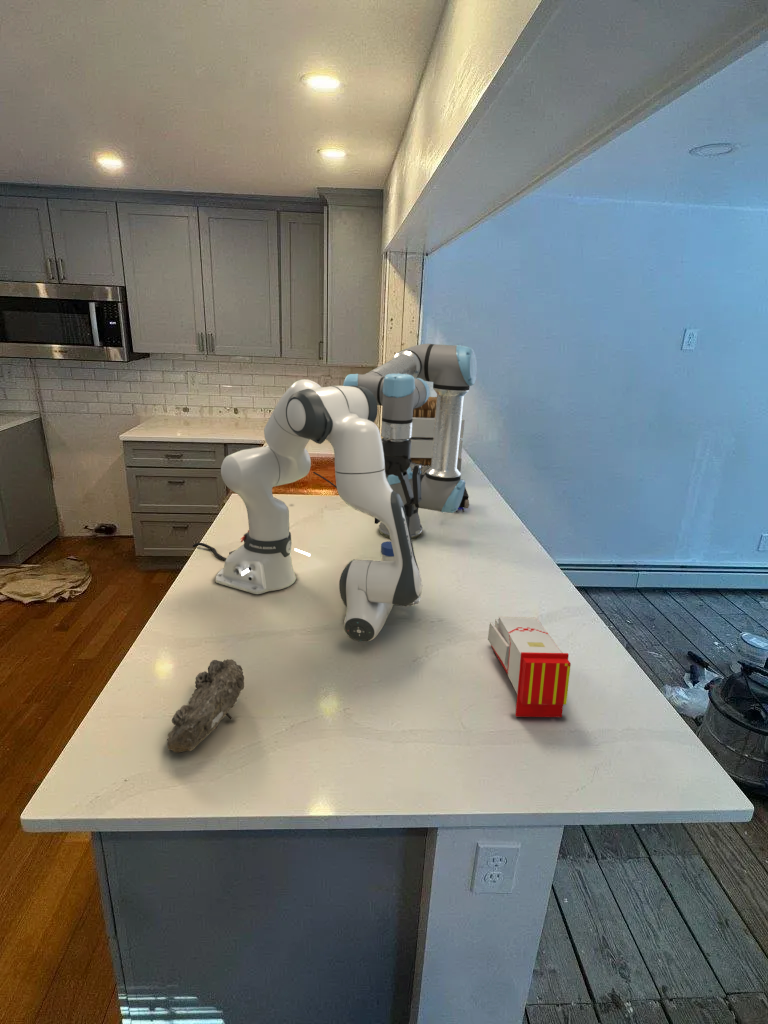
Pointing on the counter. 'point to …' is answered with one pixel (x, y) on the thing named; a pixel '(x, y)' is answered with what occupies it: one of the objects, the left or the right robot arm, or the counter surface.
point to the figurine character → (464, 501)
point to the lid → (387, 548)
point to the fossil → (206, 705)
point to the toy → (531, 665)
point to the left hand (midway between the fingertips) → (389, 575)
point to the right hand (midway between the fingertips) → (391, 524)
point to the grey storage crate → (427, 434)
